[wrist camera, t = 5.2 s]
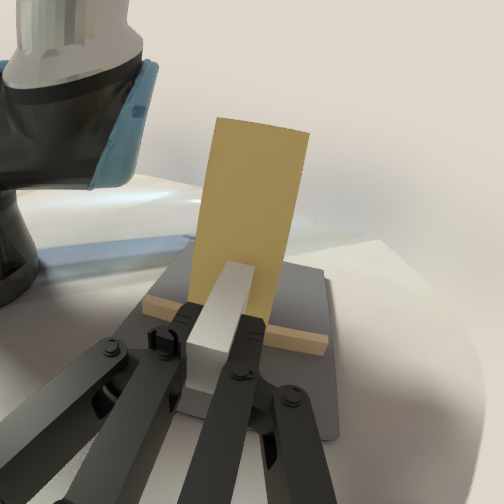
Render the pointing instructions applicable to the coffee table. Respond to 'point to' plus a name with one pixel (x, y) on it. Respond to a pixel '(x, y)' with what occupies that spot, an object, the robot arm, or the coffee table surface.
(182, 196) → the coffee table surface
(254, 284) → the mustard block
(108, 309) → the coffee table surface
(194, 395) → the tipping mat
